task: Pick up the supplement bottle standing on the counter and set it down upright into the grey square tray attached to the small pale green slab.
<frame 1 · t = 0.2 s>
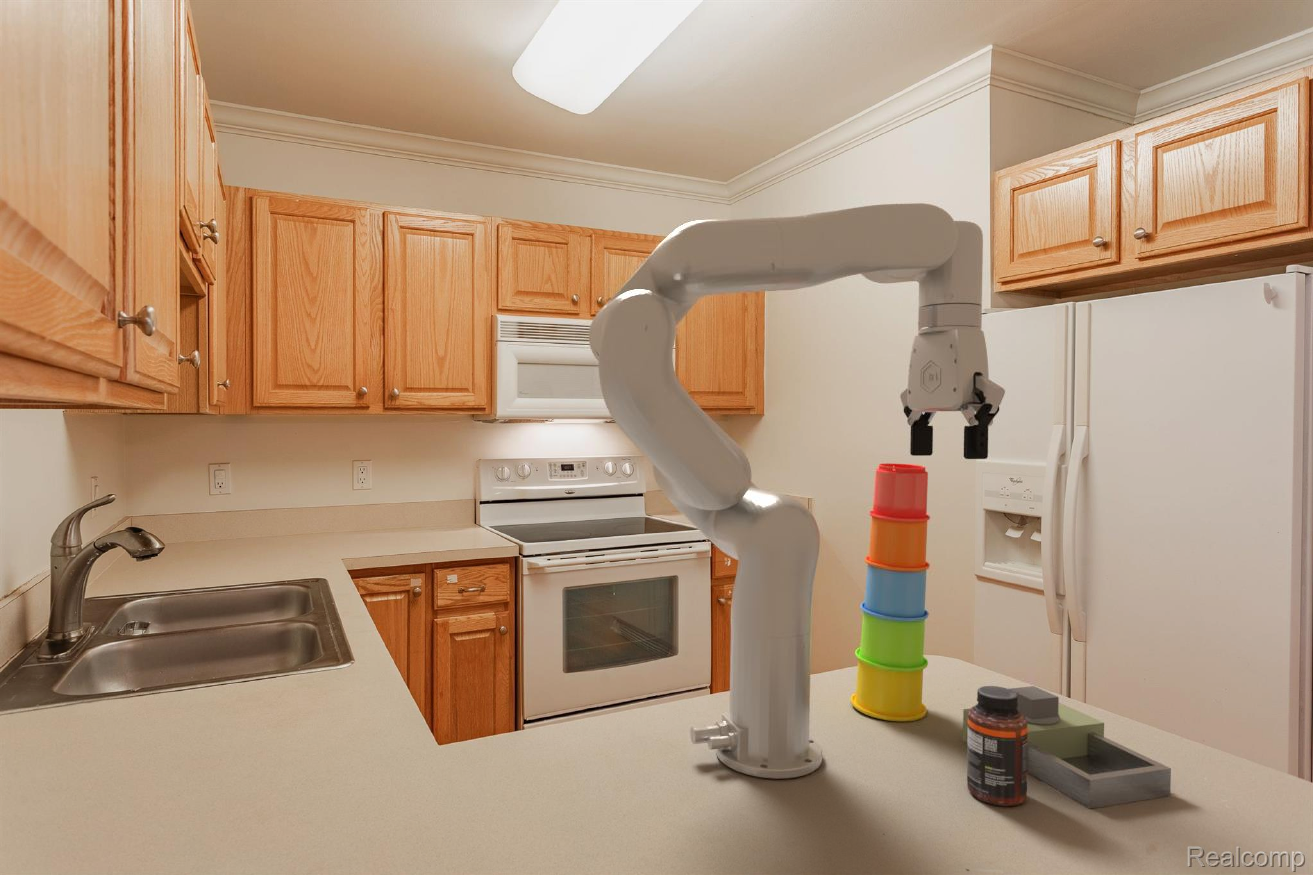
hand: (947, 457, 96), 36 cm above the counter, tool pointing down, fingers open, 9 cm apart
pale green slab: (1031, 747, 94), on the counter
stacking cups: (888, 709, 107), on the counter
supplement bottle: (996, 796, 82), on the counter
grey square tray: (1088, 778, 86), on the counter
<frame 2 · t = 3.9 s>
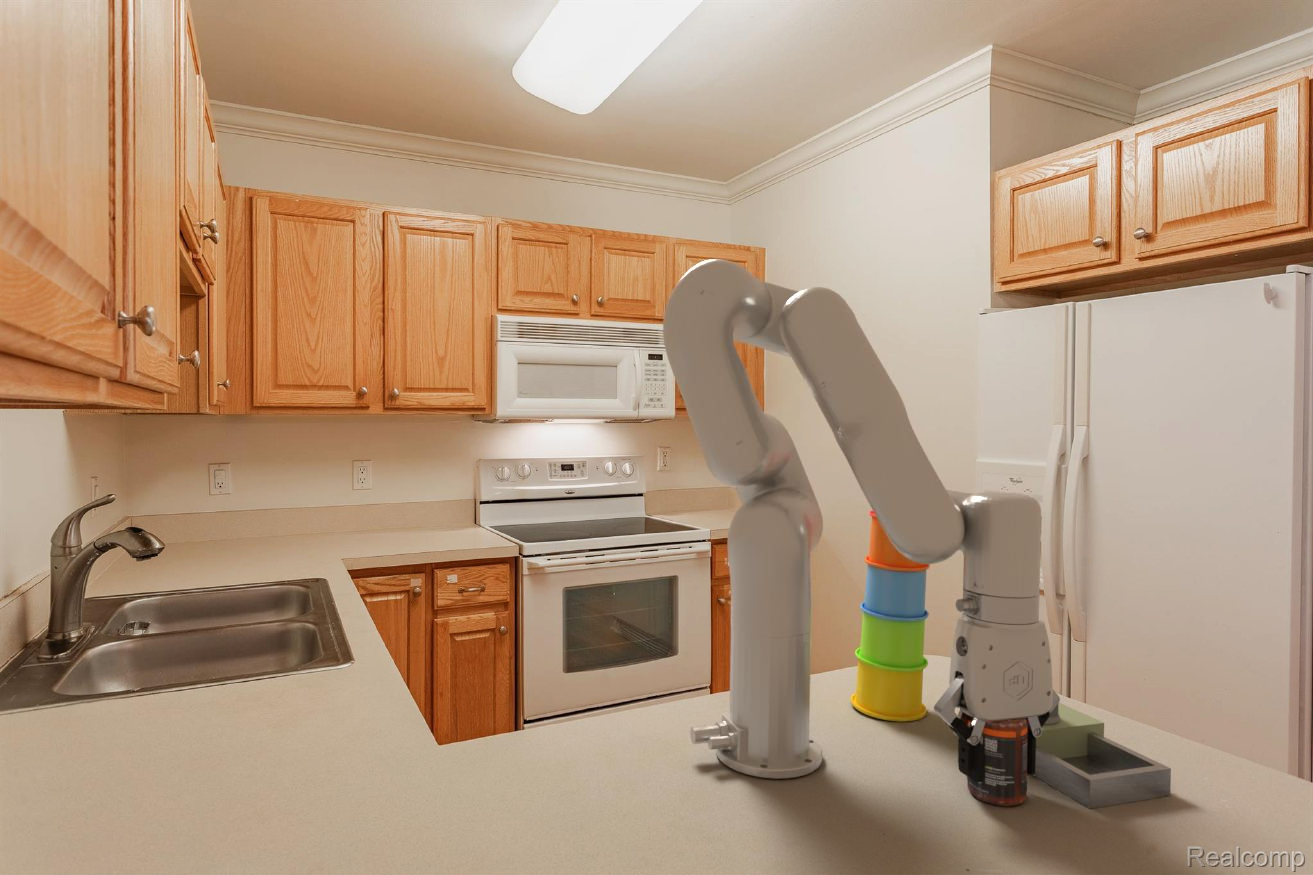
hand: (996, 771, 82), 3 cm above the counter, tool pointing down, fingers closed on supplement bottle, 6 cm apart
supplement bottle: (996, 796, 82), on the counter, touching gripper
everything else where it was.
when the fingers open (4 cm above the counter, at t = 9.5 s): supplement bottle drops 2 cm, resting on grey square tray.
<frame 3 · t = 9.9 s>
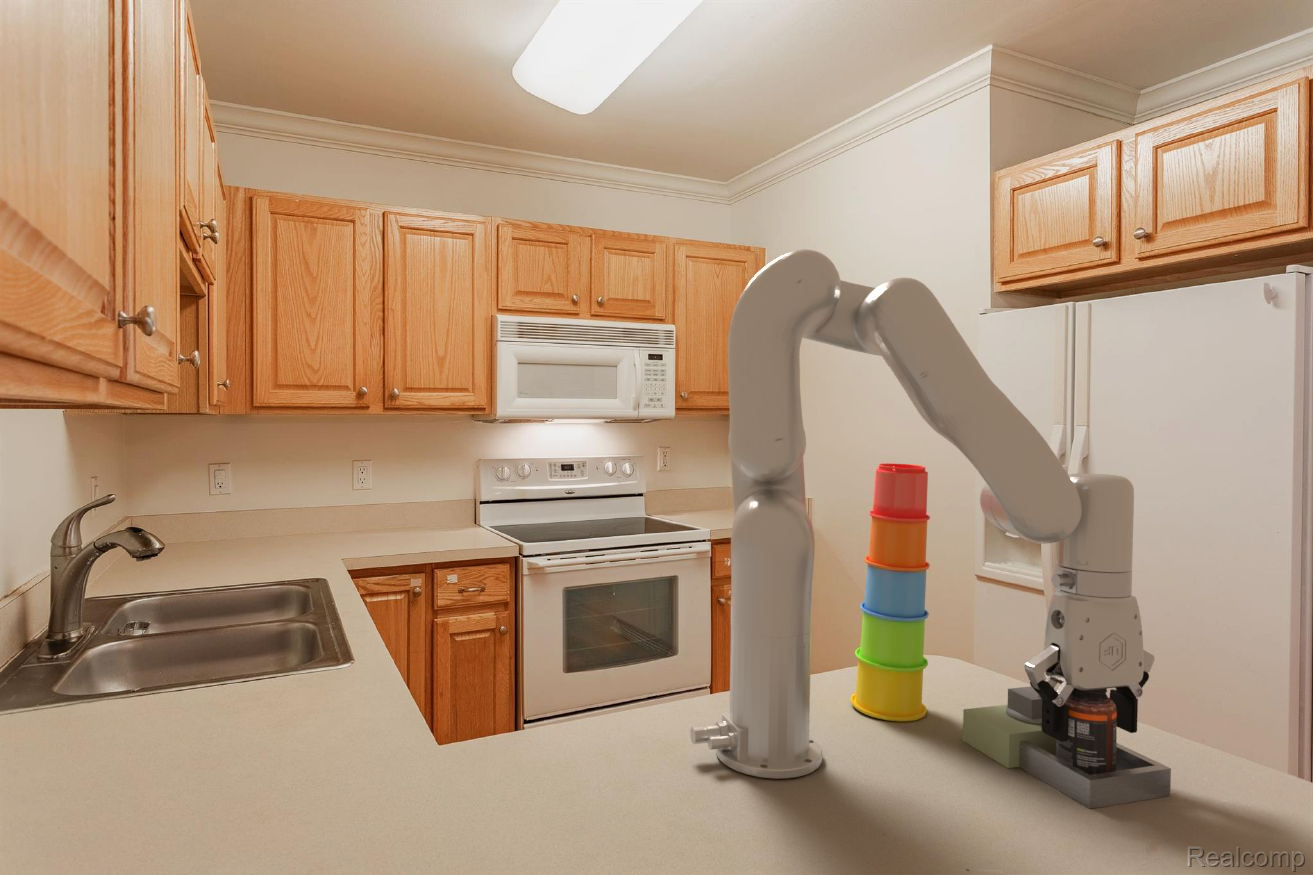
hand: (1089, 732, 86), 5 cm above the counter, tool pointing down, fingers open, 9 cm apart
supplement bottle: (1085, 778, 86), resting on grey square tray
everything else where it was.
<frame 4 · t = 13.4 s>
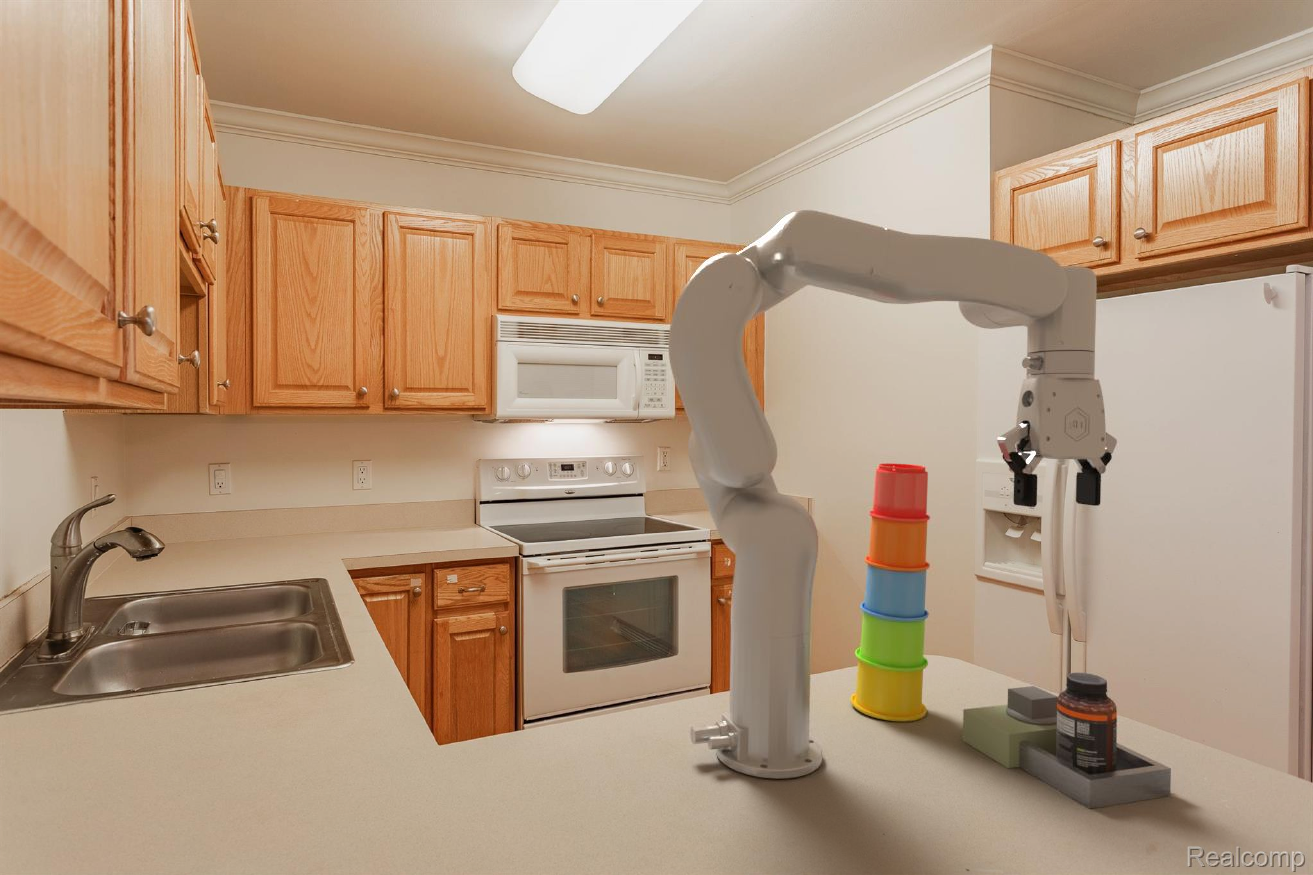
hand: (1056, 505, 94), 30 cm above the counter, tool pointing down, fingers open, 9 cm apart
nothing on the counter moved.
at the end: supplement bottle 0.4 cm off-centre on the grey square tray, point 0.1 cm above the grey square tray's base; supplement bottle tilted 0°; the gripper is holding nothing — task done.
